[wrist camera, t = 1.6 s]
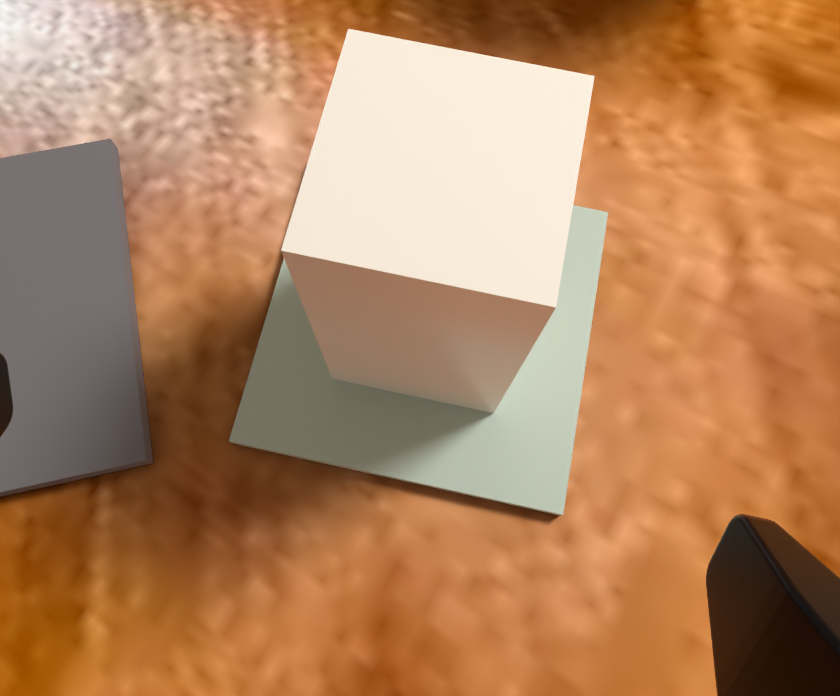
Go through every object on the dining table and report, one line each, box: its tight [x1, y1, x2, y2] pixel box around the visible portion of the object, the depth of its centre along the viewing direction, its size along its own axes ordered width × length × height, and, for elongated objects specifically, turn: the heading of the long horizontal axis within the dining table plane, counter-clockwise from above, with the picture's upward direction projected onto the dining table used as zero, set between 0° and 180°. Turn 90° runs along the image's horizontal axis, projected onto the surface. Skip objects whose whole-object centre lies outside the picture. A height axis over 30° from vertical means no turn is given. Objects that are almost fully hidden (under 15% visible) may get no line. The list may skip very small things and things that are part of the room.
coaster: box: [229, 205, 608, 516], centre depth 20 cm, size 10×10×4 cm
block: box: [281, 29, 595, 413], centre depth 17 cm, size 5×5×9 cm
